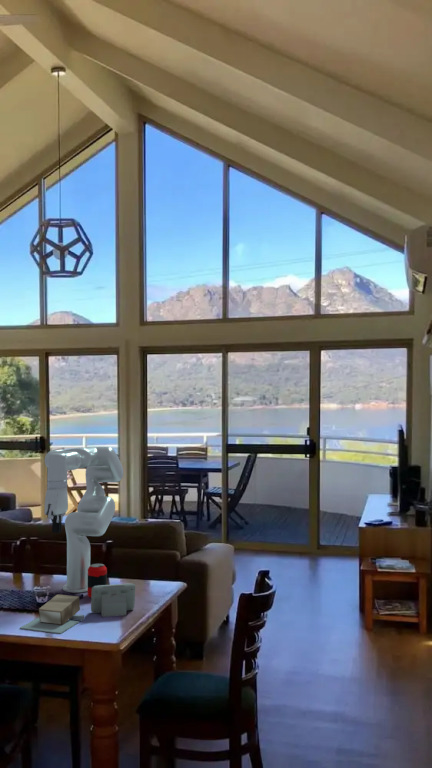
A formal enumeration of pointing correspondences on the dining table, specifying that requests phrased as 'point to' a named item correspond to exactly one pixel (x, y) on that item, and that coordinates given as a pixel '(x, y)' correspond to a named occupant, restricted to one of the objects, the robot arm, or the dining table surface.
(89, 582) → the soda can
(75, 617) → the rail
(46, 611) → the block
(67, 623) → the mat
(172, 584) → the dining table surface
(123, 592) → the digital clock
